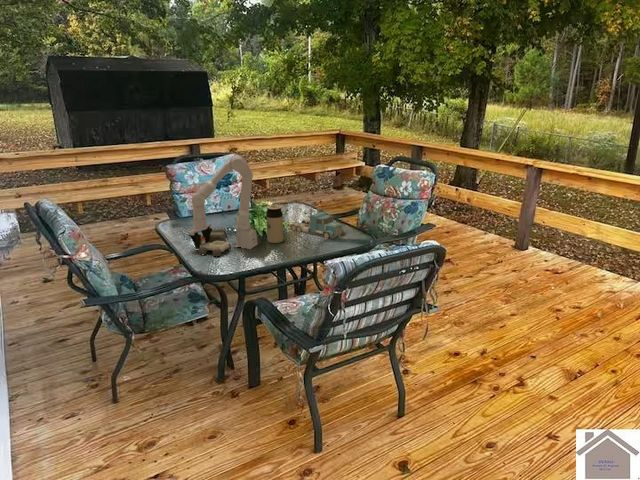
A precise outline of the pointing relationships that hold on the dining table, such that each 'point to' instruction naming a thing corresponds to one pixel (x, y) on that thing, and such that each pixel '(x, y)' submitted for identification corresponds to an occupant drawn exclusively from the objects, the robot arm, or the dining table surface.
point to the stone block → (218, 235)
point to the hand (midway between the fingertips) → (202, 245)
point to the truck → (320, 225)
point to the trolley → (214, 247)
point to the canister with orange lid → (202, 241)
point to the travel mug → (274, 224)
